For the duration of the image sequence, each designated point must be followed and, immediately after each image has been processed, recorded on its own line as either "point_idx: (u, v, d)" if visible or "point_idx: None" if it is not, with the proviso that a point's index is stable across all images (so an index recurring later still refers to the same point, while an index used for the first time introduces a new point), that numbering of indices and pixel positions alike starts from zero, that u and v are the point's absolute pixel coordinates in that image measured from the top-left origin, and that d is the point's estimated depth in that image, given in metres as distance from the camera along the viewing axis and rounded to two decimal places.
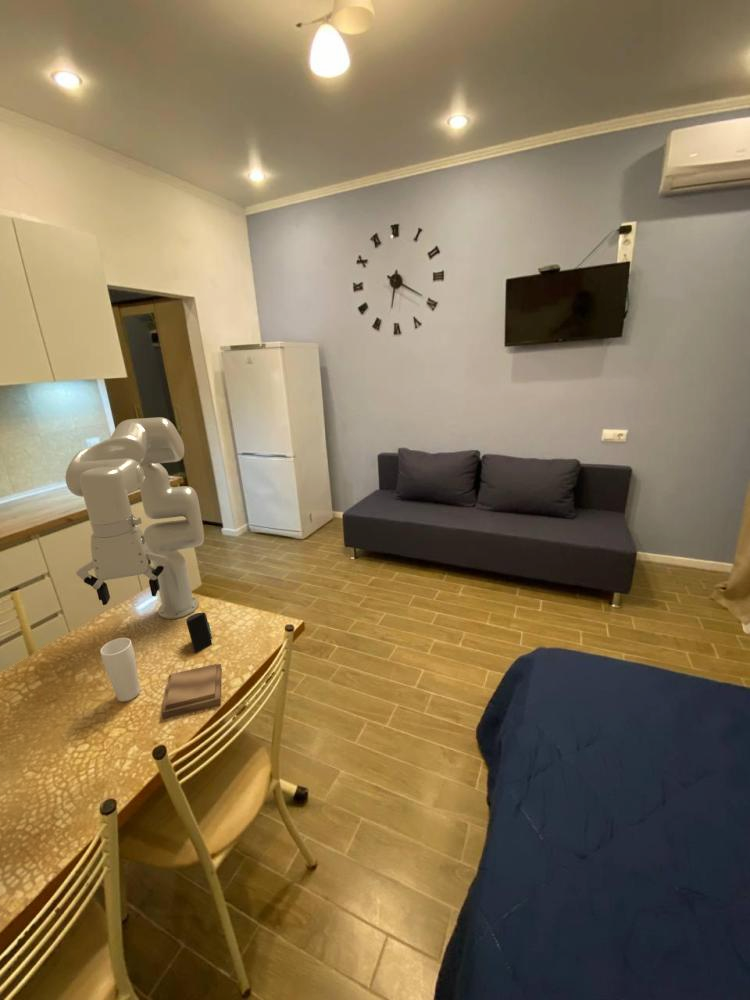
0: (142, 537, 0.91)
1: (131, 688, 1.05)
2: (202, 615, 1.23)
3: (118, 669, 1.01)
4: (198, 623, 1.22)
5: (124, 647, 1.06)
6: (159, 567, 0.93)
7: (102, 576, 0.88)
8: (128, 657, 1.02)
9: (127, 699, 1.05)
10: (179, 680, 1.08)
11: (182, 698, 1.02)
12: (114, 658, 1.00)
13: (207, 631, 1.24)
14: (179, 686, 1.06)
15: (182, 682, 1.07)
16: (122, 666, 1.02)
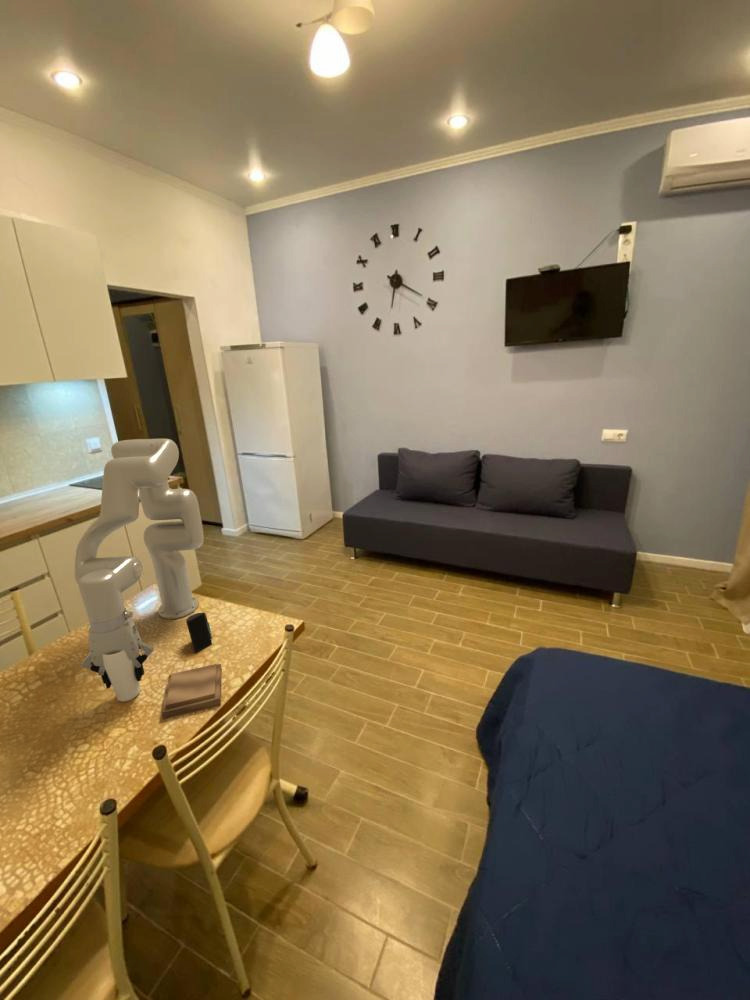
0: (134, 626, 1.04)
1: (131, 688, 1.05)
2: (202, 615, 1.23)
3: (118, 669, 1.01)
4: (198, 623, 1.22)
5: None
6: (143, 656, 1.05)
7: (98, 663, 1.01)
8: None
9: (127, 699, 1.05)
10: (179, 680, 1.08)
11: (182, 698, 1.02)
12: (114, 658, 1.00)
13: (207, 631, 1.24)
14: (179, 686, 1.06)
15: (182, 682, 1.07)
16: (122, 666, 1.02)
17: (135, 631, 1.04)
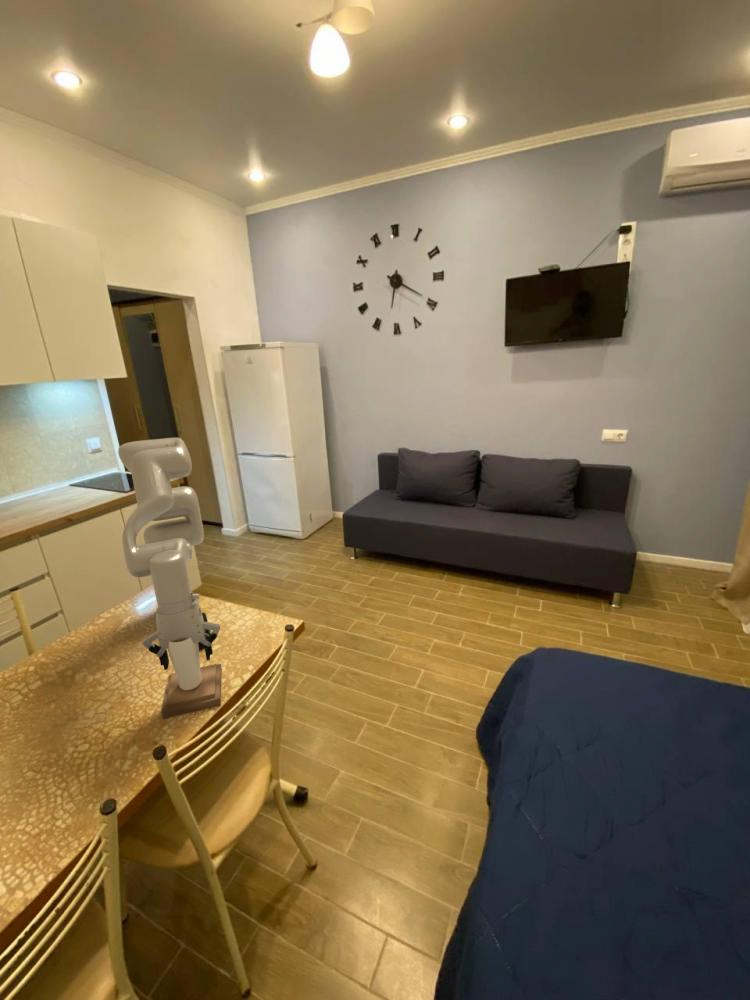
0: (199, 609, 1.02)
1: (195, 677, 1.04)
2: None
3: (184, 657, 1.00)
4: None
5: None
6: (213, 635, 1.04)
7: (165, 646, 0.99)
8: (193, 645, 1.01)
9: (190, 688, 1.04)
10: None
11: (182, 698, 1.02)
12: (181, 646, 0.99)
13: (207, 631, 1.25)
14: (179, 686, 1.06)
15: None
16: (188, 654, 1.01)
17: (200, 614, 1.02)
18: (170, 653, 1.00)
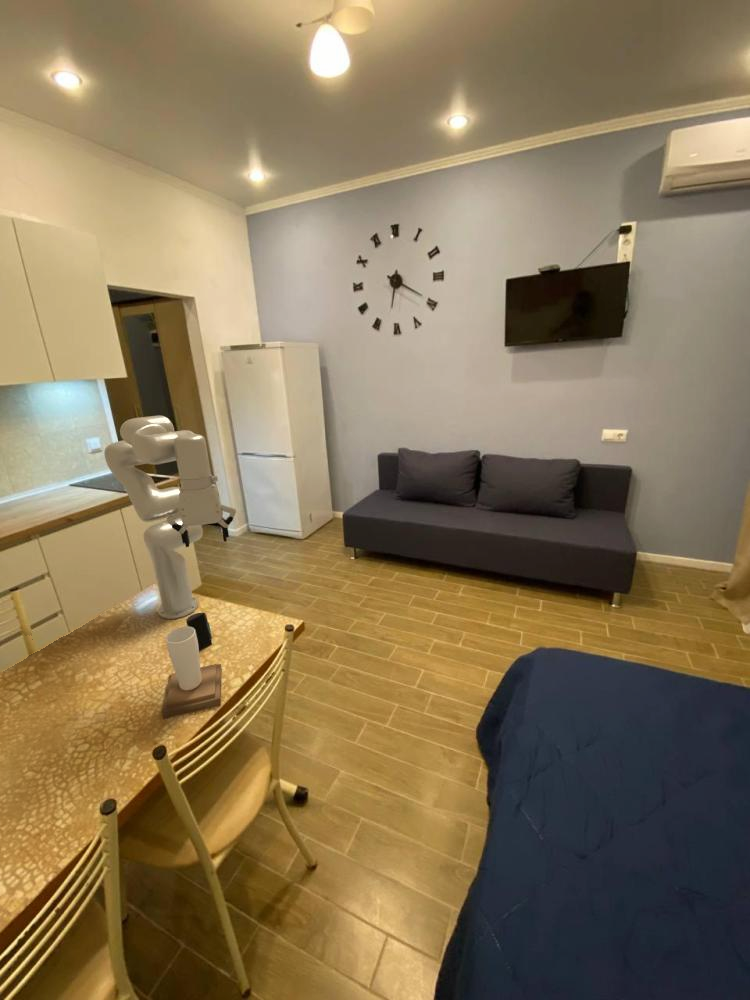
0: (217, 492, 1.13)
1: (195, 677, 1.04)
2: (202, 615, 1.23)
3: (184, 657, 1.00)
4: (198, 623, 1.22)
5: (187, 636, 1.05)
6: (230, 517, 1.14)
7: (187, 523, 1.10)
8: (193, 645, 1.01)
9: (190, 688, 1.04)
10: None
11: (182, 698, 1.02)
12: (180, 646, 0.99)
13: (207, 631, 1.25)
14: (179, 686, 1.06)
15: None
16: (188, 654, 1.01)
17: (218, 497, 1.13)
18: (170, 653, 1.00)
